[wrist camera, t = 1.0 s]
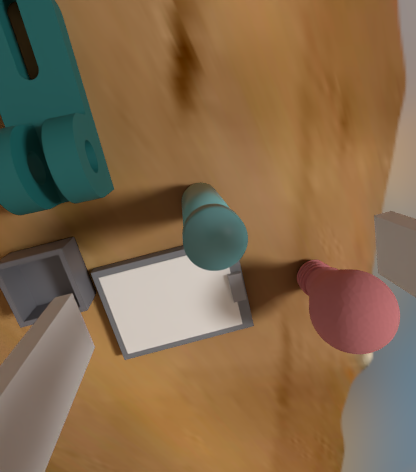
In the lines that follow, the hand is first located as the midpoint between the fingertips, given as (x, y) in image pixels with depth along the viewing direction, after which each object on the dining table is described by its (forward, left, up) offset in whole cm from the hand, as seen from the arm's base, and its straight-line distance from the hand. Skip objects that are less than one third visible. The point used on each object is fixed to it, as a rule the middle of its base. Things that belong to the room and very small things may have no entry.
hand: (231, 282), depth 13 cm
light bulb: (+11, +10, -19) cm, 25 cm away
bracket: (-12, -11, -20) cm, 25 cm away
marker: (0, 0, -19) cm, 19 cm away
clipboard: (+10, -5, -19) cm, 22 cm away
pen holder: (+4, -17, -19) cm, 26 cm away
